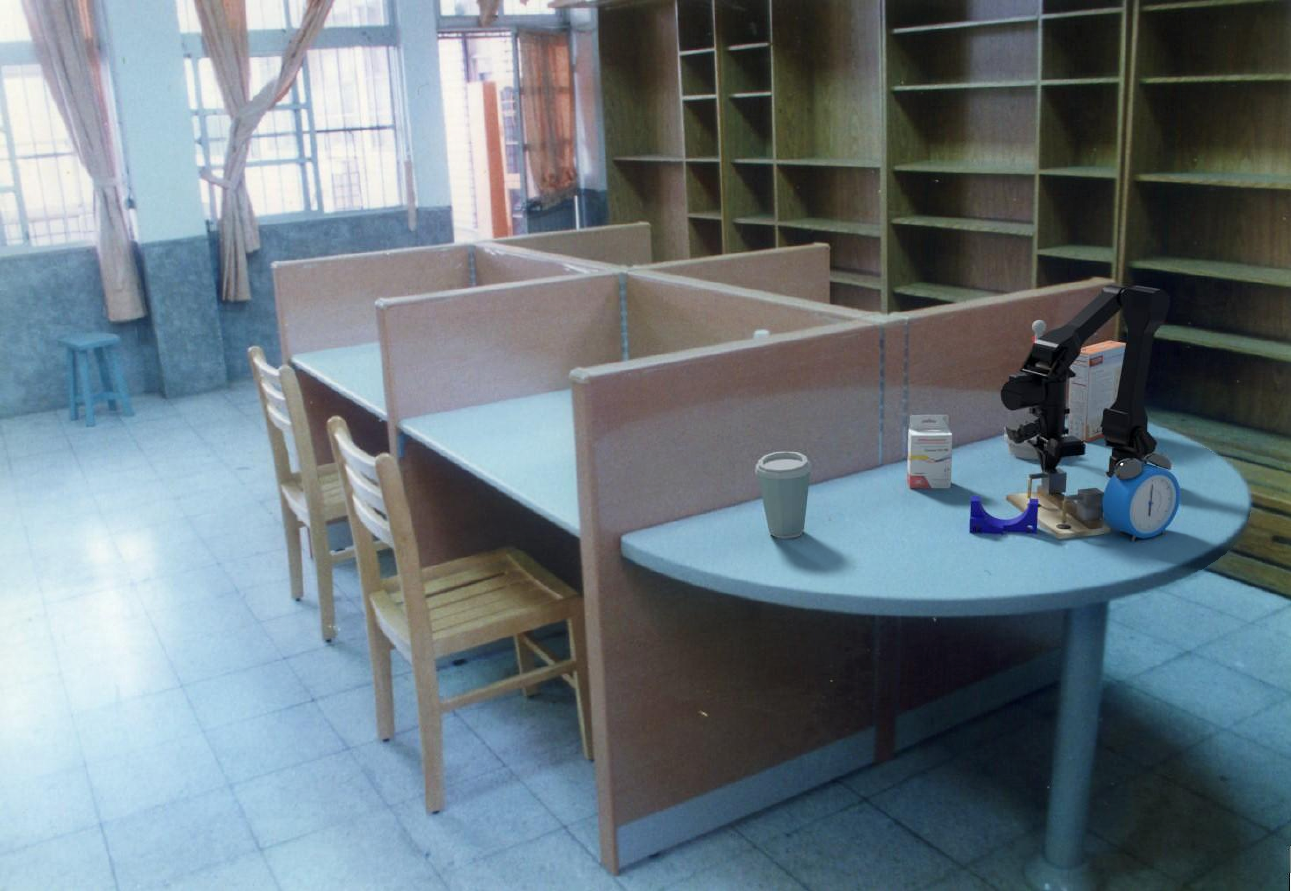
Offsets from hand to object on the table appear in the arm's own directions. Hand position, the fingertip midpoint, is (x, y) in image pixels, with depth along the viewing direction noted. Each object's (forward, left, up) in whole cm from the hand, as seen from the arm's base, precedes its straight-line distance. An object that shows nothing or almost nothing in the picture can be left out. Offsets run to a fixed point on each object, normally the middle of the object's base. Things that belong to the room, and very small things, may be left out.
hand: (1046, 477), depth 235 cm
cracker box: (-30, -37, -5) cm, 48 cm away
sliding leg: (+2, +3, -3) cm, 4 cm away
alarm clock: (-7, +22, -5) cm, 23 cm away
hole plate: (+3, +9, -4) cm, 10 cm away
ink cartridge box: (+19, -15, -5) cm, 24 cm away
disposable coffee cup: (+55, +3, -5) cm, 55 cm away
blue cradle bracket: (+15, +13, -5) cm, 21 cm away
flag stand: (-11, -29, -5) cm, 31 cm away
